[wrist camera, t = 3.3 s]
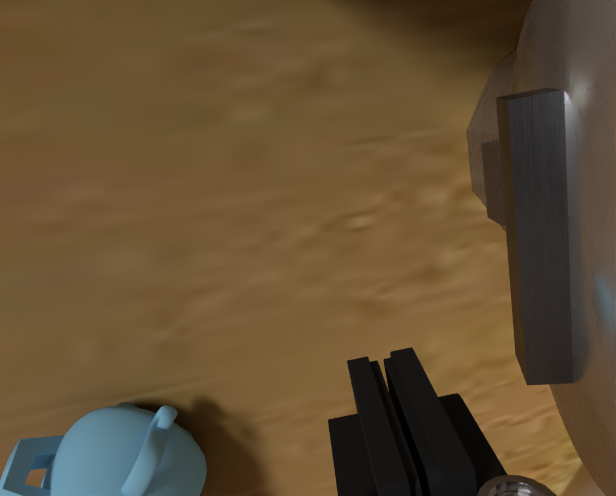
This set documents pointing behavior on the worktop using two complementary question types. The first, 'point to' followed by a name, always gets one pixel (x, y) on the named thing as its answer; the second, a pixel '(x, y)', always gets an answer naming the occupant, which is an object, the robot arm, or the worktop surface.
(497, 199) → the pot
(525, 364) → the lid
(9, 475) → the teapot
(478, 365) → the worktop surface
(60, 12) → the worktop surface
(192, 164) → the worktop surface
